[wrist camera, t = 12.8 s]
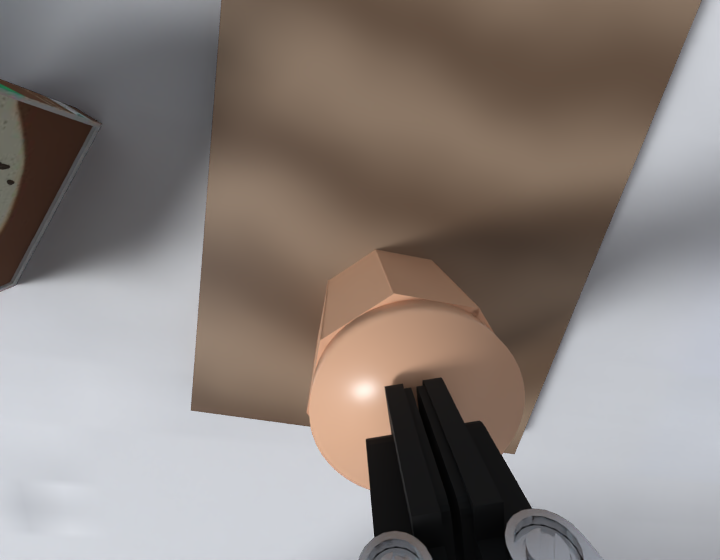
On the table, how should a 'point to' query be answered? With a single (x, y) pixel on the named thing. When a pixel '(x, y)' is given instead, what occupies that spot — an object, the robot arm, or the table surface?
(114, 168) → the table surface
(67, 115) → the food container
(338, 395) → the cap
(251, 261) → the board
